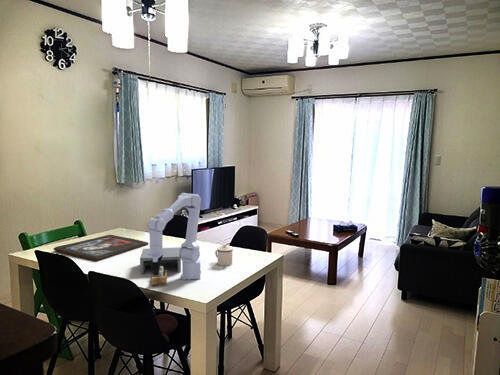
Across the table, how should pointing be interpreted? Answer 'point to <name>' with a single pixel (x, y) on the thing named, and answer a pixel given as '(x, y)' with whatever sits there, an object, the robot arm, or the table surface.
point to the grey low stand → (168, 257)
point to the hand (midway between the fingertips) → (156, 272)
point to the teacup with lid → (224, 255)
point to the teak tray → (160, 277)
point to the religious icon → (101, 247)
